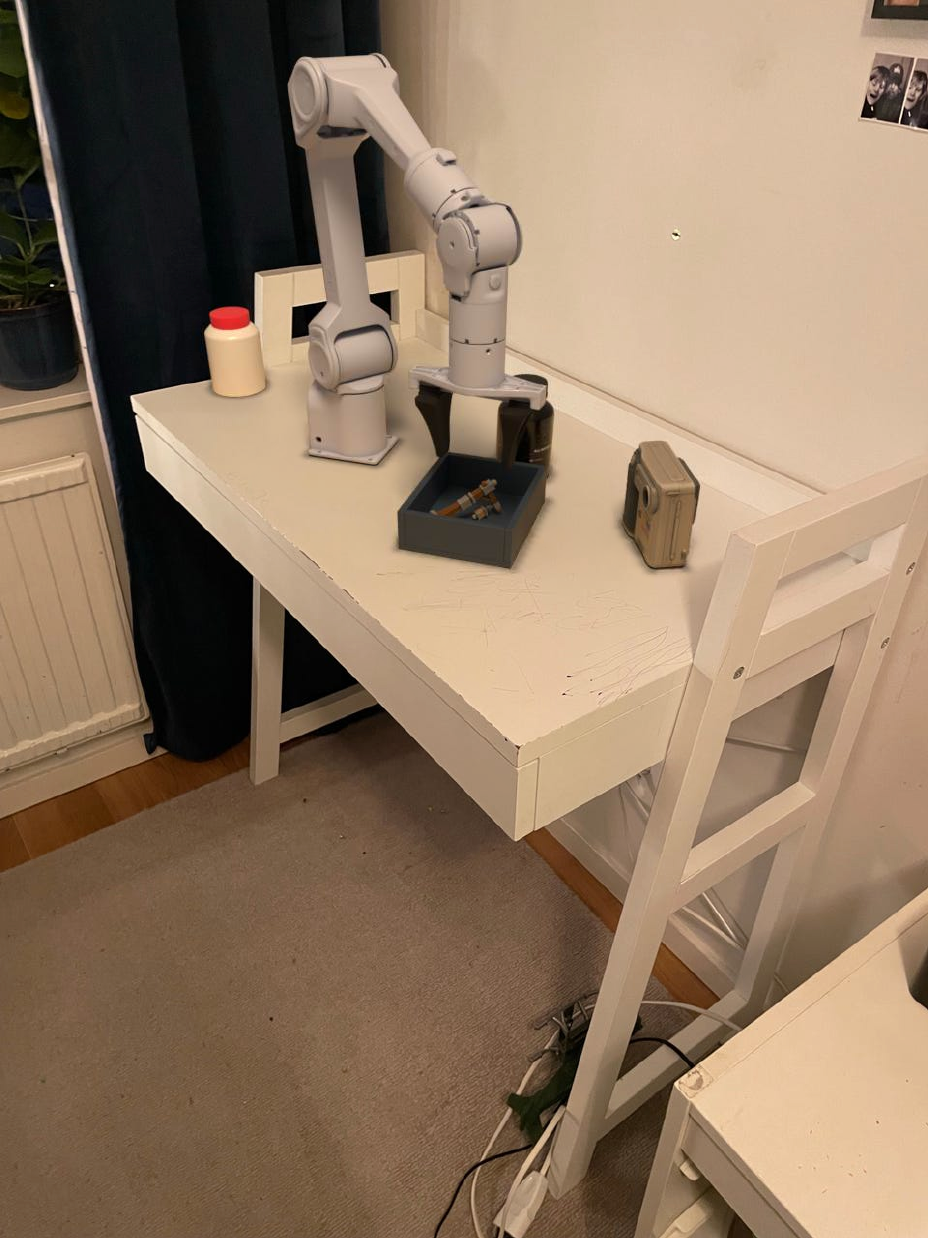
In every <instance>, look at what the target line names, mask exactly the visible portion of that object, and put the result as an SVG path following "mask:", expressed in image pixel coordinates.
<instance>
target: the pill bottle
mask: <svg viewBox="0 0 928 1238" xmlns="http://www.w3.org/2000/svg"><path fill="white" fill-rule="evenodd" d="M209 321H210V323H209V324H208V326H207V327H206V328H205V330H204V332H203V335H204V341H205V348H206V354H207V361H208V367H209V375H210V381H211V388H212V391H213V392H214V393H215V394H217V395H219V396H222V397H228V398H241V397H249V396H253V395H256V394H258V393H260V392H263V390H265V389H266V386H267V383H266V376H265V375H266V374H265V367H264V357H263V350H262V342H261V332H260V328H259V327H258V325H256V324H255V323H253V321H251V319H250V312H249V309H247V308H244V307H240V306H223V307H219V308H215V309H213V310H211V311H209Z"/></svg>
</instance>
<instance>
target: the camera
mask: <svg viewBox="0 0 928 1238" xmlns="http://www.w3.org/2000/svg"><path fill="white" fill-rule="evenodd" d="M625 488H626V489H625V497H624V503H623V505H624V506H623V514H622V526H623V527H624V530H625V531H626V534H627V535H628V536H629V537H631V538H633V539H634V540H635V543H636V544H637V546H638V548H639V550H640V552H641V555H642V556H643V559H644V560H645V563H646V564H647V566H650V567H652V568H654V569H655V568H666V567H680V566H683V565H685V564H686V560H687V558H688V556H689V553H690V546H691V540H692V539H691V538H692V533H693V525H694V524H695V522H696V517H697V508H698V505H699V500H700V499H699V497H700V491H701V484H700V482H699V480H698V479H697V477H696V476H695V475H694V473H693V471H692V469H690V467H689V465H688V464H687V462H686V461H685V460H684V459H683V458H681V457H679V456H677V454H675V451H674V450H673V449H672V447H671V446H670V444H669V443H668V442H667V441H665V440H649V441H641V442H640V443H639V444H638V448H636V449H635V450H634V451H633V455H632V456H631V459H630V462H629V463H628V466H627V477H626V487H625Z"/></svg>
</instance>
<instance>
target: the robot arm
mask: <svg viewBox="0 0 928 1238" xmlns="http://www.w3.org/2000/svg"><path fill="white" fill-rule="evenodd" d="M287 91H288V99H289V106H290V112H291V117H292V118H291V120H292V126H293V127H292V128H293V133H294V137H295V143H296V145H297V146H299V147H300V148H303V149H304V152H305V159H306V167H307V173H308V180H309V188H310V193H311V200H312V207H313V215H314V222H315V229H316V236H317V244H318V251H319V257H320V263H321V265H320V266H321V271H322V279H323V285H324V292H325V300H326V304H325V305H324V306H323V308H322V309H321V310H320V311H319V312H318V313H317V314H316V315H315V316H314V317H313V319H312V320H311V321H310V323H309V324H308V336H309V340H308V341H309V344H308V351H307V356H308V364H309V367H310V371H311V373H312V375H313V377H314V378H315V379H314V380H313V381H312V383H311V384H310V386H309V389H308V393H307V398H306V412H307V425H308V434H309V445H310V448H309V449H308V451H307V453H308V455H309V456H315V457H322V458H329V459H335V460H342V461H347V462H353V463H360V464H367V465H377V464H379V463H380V461H381V460H382V459H383V458H384V457H385V456H386V455H387V453H388V452H389V451H390V450H391V449H392V448H393V447H394V445H395V444H396V443H397V442H398V440H399V439H398V437H397V436H395V435H388V434H387V417H386V416H387V415H386V414H387V413H386V395H385V394H386V392H385V384H386V383H389V382H390V374H391V373H393V372H394V371H395V369H396V368H397V365H398V359H399V349H398V344H397V340H396V338H395V335H394V333H393V330H392V325H391V319H390V315H389V314H388V313H387V312H386V311H384V310H383V309H382V308H381V307H379V306H378V305H376V304H374V303H373V302H371V297H370V296H371V295H370V288H369V281H368V272H367V264H366V254H365V248H364V238H363V229H362V221H361V214H360V204H359V196H358V189H357V180H356V173H355V163H354V162H355V161H354V155H355V153H356V151H357V150H358V148H359V147H360V145H361V143H362V142H363V141H365V140H366V139H368V138H369V137H372V139H373V140H374V141H375V142H376V143H377V145H379V147H380V148H381V149H382V150H383V151H384V152H385V153H386V154H387V155H388V156H389V157H390V158H391V159H392V161H393V162H394V163H395V164H396V166H398V167H399V169H400V170H401V171H402V172H403V173H404V176H403V183H402V184H403V185H402V187H403V191H404V193H405V195H406V196H407V198H408V199H409V200H410V202H411V203H412V204H413V206H414V207H415V208H416V210H417V211H418V212H419V213H420V215H421V216H422V218H423V220H425V222H426V223H427V225H428V226H429V227H430V228H431V229H432V231H433V232H434V234H435V235H436V237H435V250H436V253H437V257H438V259H439V261H440V264H441V267H442V272H443V273H442V275H443V280H442V281H443V284H444V288H445V291H448V366H432V365H422V364H416V365H415V366H413V367H411V369H410V370H408V388H409V389H411V390H418V393H417V395H416V396H415V397H414V406H415V407H416V409H417V410H418V411H419V413H420V414H421V416H422V419H423V420H424V422H425V424H426V427H427V429H428V432H429V434H430V436H431V441H432V444H433V448H434V451H435V456H436V457H437V458H439V457H441V458H442V457H443V456H444V455H445V454H446V453H447V452H450V447H451V409H452V400H453V395H454V394H457V395H461V396H466V397H476V398H480V399H488V400H493V401H497V402H498V401H499V402H502V401H504V402H509V405H508V406H506V407H505V408H504V409H503V410H502V411H501V413H500V420H501V426H502V436H503V448H502V469H503V470H509V469H510V468H511V467H512V465H513V464H514V462H515V457H516V453H517V449H518V446H519V443H520V440H521V437H522V435H523V432H524V430H525V428H526V426H527V424H528V422H529V420H530V418H531V416H532V414H533V413H534V411H535V410H540V409H541V408H542V407H543V406H544V404H545V402H546V400H547V399H546V386H545V385H540V384H536V383H532V382H529V381H526V380H523V379H520V378H517V377H514V375H510V374H507V373H506V347H507V345H506V344H507V321H508V320H507V319H508V317H507V316H508V291H509V267H510V266H512V265H514V264H515V263H516V262H517V261H518V259H519V258H520V255H521V253H522V249H523V244H524V243H523V242H524V241H523V240H524V239H523V238H524V237H523V236H524V235H523V228H522V225H521V221H520V219H519V217H518V215H517V214H516V212H515V211H514V208H513V207H512V205H511V204H510V203H508V202H506V201H502V200H499V201H496V200H495V199H494V198H493V197H492V196H491V197H489V196H488V197H486V196H485V194H484V193H483V192H482V191H481V189H480V188H479V187H478V185H477V184H476V182H474V180H473V179H472V178H471V176H470V175H469V174H468V173H467V172H466V170H465V169H464V168H463V167H462V166H461V165H462V164H460V163H459V162H458V157H457V155H455V153H454V152H453V150H449V149H446V148H444V147H432V146H431V144H430V143H429V141H428V140H427V138H426V136H424V134H423V132H422V130H421V129H420V128H419V125H418V124H417V122H416V121H415V120H414V118H413V116H412V115H411V114H410V112H409V110H408V109H407V107H406V105H405V103H404V102H403V101H402V99H401V98H400V95H401V93H400V91H401V90H400V81H399V75H398V72H397V71H396V70H395V69H393V68H392V65H391V64H390V62H389V61H388V59H387V58H386V57H385V56H384V55H383V54H381V53H378V52H373V53H370V54H368V55H348V56H329V57H311V56H309V57H308V56H302V57H300V58H299V59H298V60H297V61H296V63H295V65H294V66H293V69H292V71H291V75H290V77H289V80H288V83H287Z"/></svg>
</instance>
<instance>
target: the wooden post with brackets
mask: <svg viewBox="0 0 928 1238" xmlns="http://www.w3.org/2000/svg"><path fill="white" fill-rule="evenodd" d="M496 484H497V481H496V480H492V481H490V480H489V479H488V480H487V481H485V480H484V481H483V482H481V485H479V486H480V487H479V488H478V489H476V490H475V491H473V492H472V493H470V492H469V493H467V494H468V495H467V496H466V495H465V496H464V497H462V498H461V499H459V500H457V503H455V504H453V505H452V506H450V507H447V508H445V509H443V510H441V511H439V512H435V511H434V510H433V511H431V513H432V514H437V515H443V516H449V517H453V516H454V515H455V514H456V513H458V512H459V511H461V510H463V511H464V510H465V509H466V508H467V507H469V506H471V505H472V504H471V503H475V502H476V500H477V499H478V498H483V499H486V500H489V501H491V503H492V505H493V507H494V508H495V509H496V511H497V512H498V513H499V512H500V511H502V509H501V507H500V504H499V502H498V501H497V500H496V498H495V496H494V494H493V492H492V490H494V489H495V487H494V486H496ZM484 494H485V495H487V494H488V496H489V498H488V497H485V496H483V495H484ZM492 505H490V506H487V505H486V506H487V508H486V507H485V508H484V507H483V506H481V508H480V509H478V510H476V511H474V513H475V514H473V515H472V519H473V520H476V519H477V518H478V519H479V520H480V519H481V518H483V517H484V516H485V515H487V516H488V512H489V511H490V509H491V508H492ZM490 507H491V508H490ZM488 510H489V511H488Z"/></svg>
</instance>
